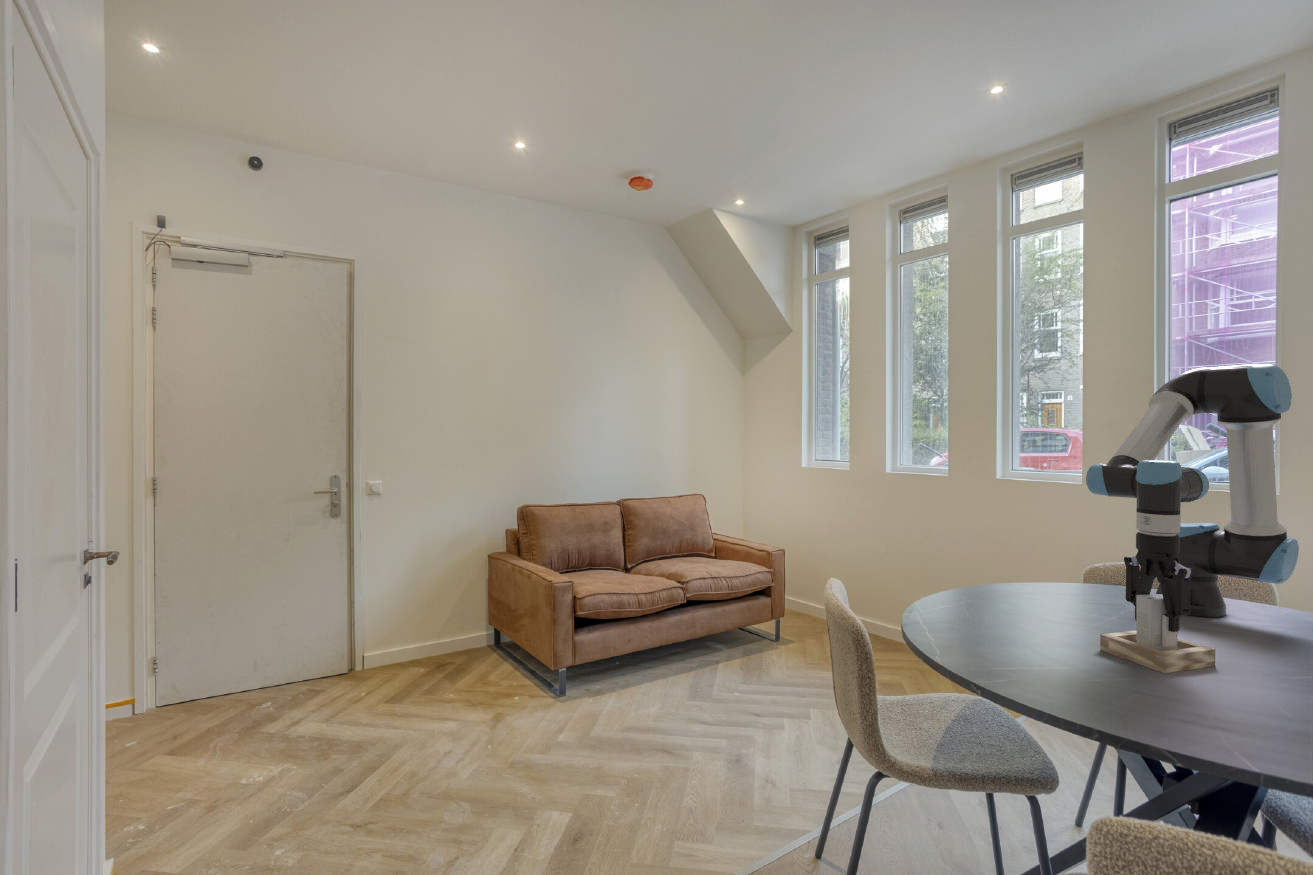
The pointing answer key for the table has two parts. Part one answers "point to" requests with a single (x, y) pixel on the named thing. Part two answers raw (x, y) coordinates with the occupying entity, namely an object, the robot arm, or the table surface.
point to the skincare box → (1151, 621)
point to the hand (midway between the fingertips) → (1156, 641)
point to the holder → (1158, 653)
